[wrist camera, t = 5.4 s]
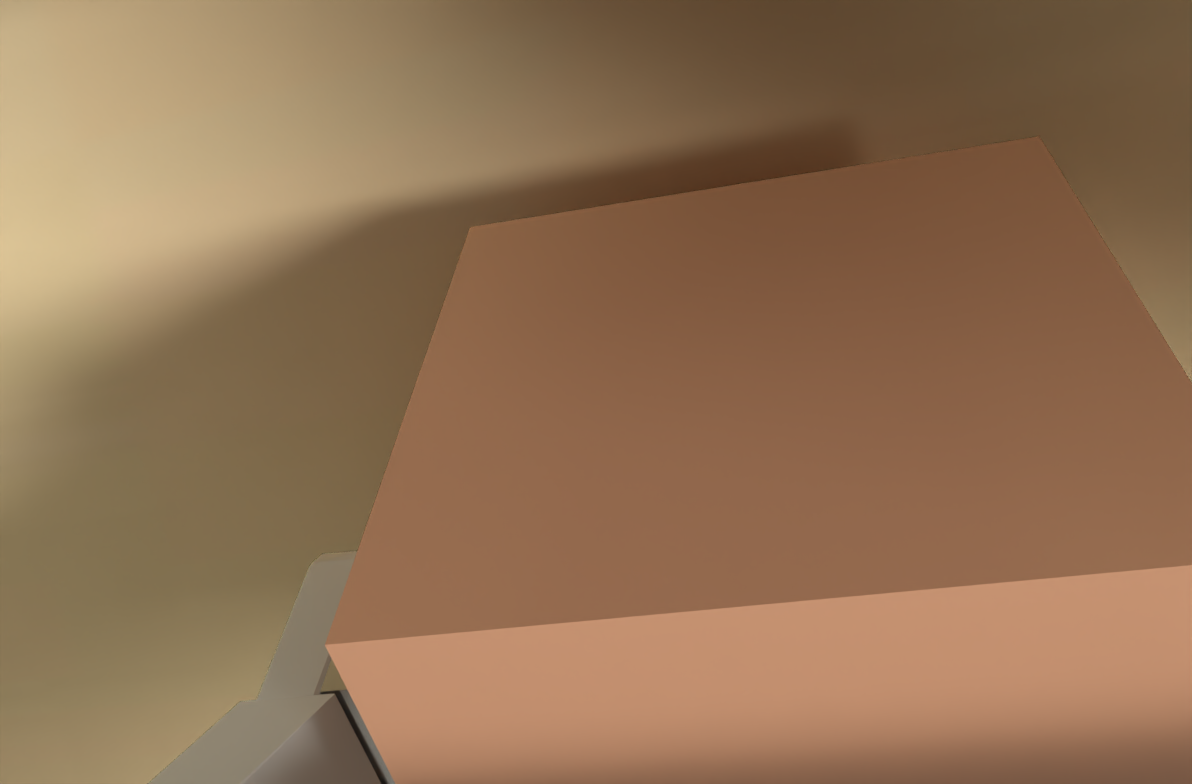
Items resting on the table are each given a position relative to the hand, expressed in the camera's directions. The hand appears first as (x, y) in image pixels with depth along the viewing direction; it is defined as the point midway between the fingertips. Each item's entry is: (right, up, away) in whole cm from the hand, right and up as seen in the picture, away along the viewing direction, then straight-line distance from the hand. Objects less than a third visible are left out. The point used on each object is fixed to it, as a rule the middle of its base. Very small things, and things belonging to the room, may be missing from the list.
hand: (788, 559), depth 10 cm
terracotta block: (0, +1, +2) cm, 2 cm away
